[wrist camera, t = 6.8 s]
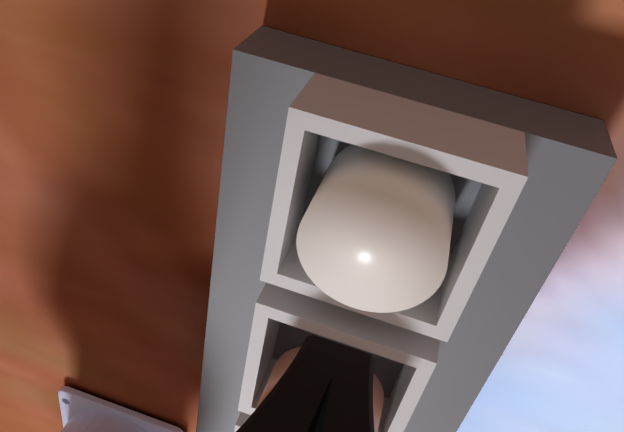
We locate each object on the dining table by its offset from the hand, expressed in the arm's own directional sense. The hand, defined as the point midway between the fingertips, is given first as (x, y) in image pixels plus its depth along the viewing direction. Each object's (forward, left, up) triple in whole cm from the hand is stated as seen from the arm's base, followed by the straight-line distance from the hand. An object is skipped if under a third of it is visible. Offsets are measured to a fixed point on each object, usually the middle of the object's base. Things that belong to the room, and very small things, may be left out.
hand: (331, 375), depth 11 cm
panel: (-7, 0, -10) cm, 12 cm away
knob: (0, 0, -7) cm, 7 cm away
